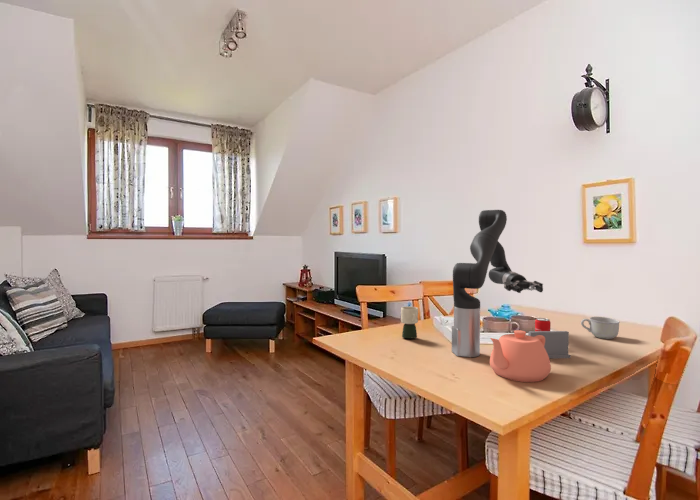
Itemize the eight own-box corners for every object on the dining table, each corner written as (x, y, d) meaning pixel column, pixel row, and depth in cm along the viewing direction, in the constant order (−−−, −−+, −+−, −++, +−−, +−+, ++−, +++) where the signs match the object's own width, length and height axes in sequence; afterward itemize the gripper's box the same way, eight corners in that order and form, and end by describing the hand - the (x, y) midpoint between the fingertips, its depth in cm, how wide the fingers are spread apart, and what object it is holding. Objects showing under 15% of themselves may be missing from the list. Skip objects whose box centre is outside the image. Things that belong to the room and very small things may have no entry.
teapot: (514, 391, 104) (514, 342, 103) (467, 372, 118) (468, 330, 118) (568, 375, 116) (568, 332, 115) (520, 360, 130) (520, 322, 130)
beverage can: (552, 353, 139) (552, 321, 139) (536, 352, 140) (537, 320, 140) (547, 349, 144) (548, 318, 144) (533, 348, 145) (533, 317, 145)
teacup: (618, 336, 164) (618, 318, 164) (620, 342, 155) (620, 322, 155) (580, 332, 171) (581, 314, 171) (580, 337, 162) (580, 318, 162)
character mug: (422, 341, 155) (422, 309, 155) (406, 342, 154) (406, 310, 153) (412, 334, 166) (412, 305, 166) (397, 335, 164) (397, 305, 164)
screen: (532, 358, 132) (532, 333, 132) (526, 355, 136) (526, 330, 136) (570, 358, 133) (570, 332, 133) (563, 354, 137) (563, 330, 137)
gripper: (498, 273, 167) (513, 281, 151) (530, 272, 166) (549, 280, 150) (497, 289, 168) (512, 299, 152) (530, 288, 167) (548, 298, 151)
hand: (530, 290), depth 151 cm, fingers open, 8 cm apart
